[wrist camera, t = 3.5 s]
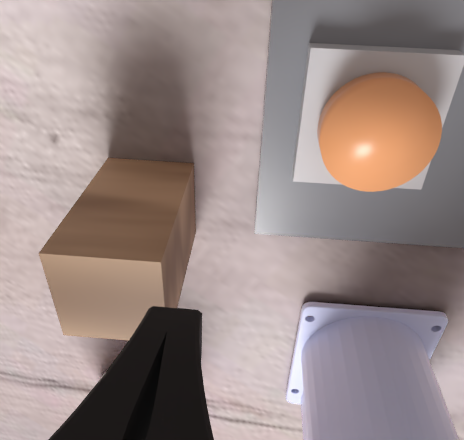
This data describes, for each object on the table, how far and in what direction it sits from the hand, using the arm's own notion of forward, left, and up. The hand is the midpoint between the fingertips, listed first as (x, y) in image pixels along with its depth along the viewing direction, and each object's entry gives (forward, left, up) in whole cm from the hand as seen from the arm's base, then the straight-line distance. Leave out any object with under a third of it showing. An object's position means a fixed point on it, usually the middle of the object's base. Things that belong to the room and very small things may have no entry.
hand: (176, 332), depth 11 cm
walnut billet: (-2, +3, -10) cm, 10 cm away
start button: (+3, -6, -7) cm, 10 cm away
